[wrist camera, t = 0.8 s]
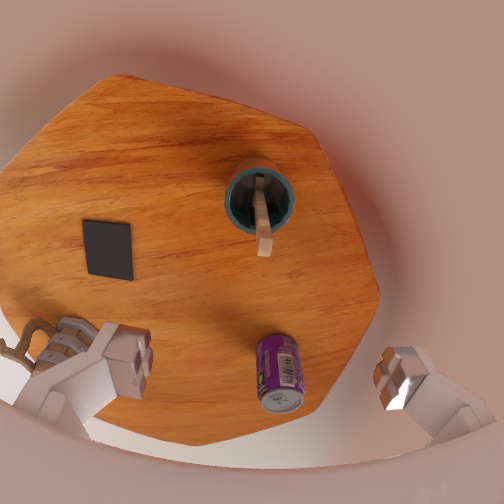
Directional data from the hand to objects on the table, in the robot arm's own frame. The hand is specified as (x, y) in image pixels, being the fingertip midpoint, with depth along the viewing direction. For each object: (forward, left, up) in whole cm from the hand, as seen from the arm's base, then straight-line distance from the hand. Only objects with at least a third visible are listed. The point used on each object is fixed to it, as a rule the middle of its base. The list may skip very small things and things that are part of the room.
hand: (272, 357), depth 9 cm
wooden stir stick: (0, 0, -29) cm, 29 cm away
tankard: (+31, -33, -30) cm, 54 cm away
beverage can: (+27, +7, -30) cm, 41 cm away
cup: (0, 0, -30) cm, 30 cm away
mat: (+12, -21, -30) cm, 38 cm away
